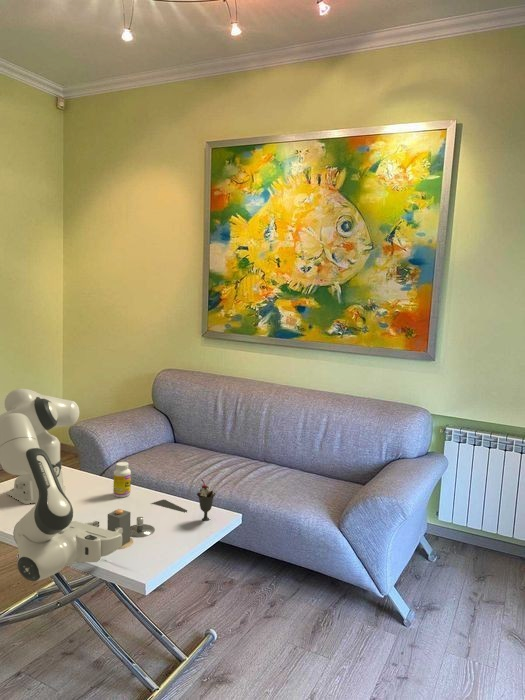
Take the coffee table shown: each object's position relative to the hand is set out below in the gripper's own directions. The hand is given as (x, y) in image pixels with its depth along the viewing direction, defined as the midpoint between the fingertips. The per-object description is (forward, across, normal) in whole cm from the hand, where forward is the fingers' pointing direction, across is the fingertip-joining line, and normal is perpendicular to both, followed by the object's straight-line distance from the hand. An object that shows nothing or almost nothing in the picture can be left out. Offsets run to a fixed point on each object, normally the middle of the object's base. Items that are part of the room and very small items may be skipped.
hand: (109, 526), depth 157 cm
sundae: (+35, +13, -9) cm, 38 cm away
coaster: (+6, -1, -8) cm, 10 cm away
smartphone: (+37, -5, -9) cm, 38 cm away
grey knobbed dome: (+16, -1, -8) cm, 18 cm away
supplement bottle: (+38, -29, -8) cm, 49 cm away
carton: (+6, -1, -8) cm, 10 cm away
